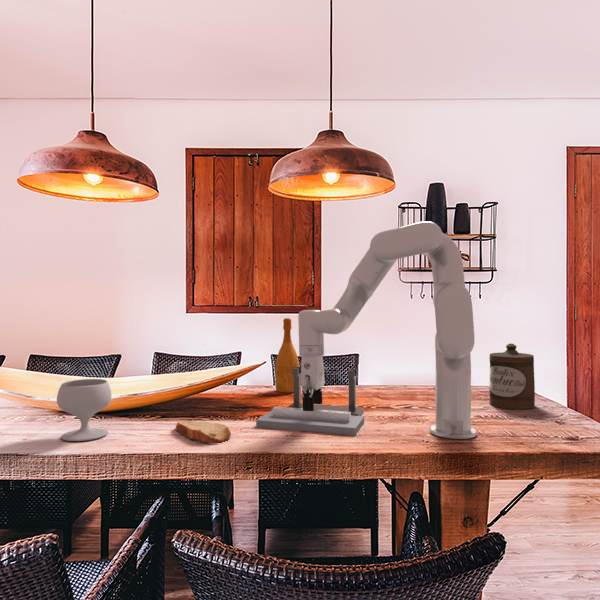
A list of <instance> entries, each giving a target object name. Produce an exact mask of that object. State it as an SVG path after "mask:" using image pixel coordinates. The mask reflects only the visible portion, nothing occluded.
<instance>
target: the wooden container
mask: <svg viewBox="0 0 600 600" xmlns="http://www.w3.org/2000/svg"><path fill="white" fill-rule="evenodd" d="M505 348H506V350H505V351H504V352H490V353H489V381H488V382H489V383H488V385H489V388H488V389H489V404H490V405H491V406H493V407H496V408H500V409H505V408H506V409H507V410H515V409H518V410H521V409H525V410H530V409H531V408H532V409H534V408H536V407H535V406H536V405H535V404H536V403H535V402H536V400H535V399H536V397H535V396H536V391H535V390H536V386H535V383H536V381H535V365H534V364H535V358H534V357H535V355H534V354H531V353H524V352H518V350H517V345H516V344H514V343H508V344H506V346H505ZM532 409H531V410H532Z"/></svg>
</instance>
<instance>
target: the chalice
mask: <svg viewBox="0 0 600 600" xmlns="http://www.w3.org/2000/svg"><path fill="white" fill-rule="evenodd" d="M111 400H112V391H111V387H110V384H109V382H108V381H107V380H106V379H101V378H86V379H85V378H83V379H74V380H70V381H65V382H62V383H61V385H60V386H59V388H58V390H57V396H56V404H57V406H58V408H59V409H60V410H61V411H64V412H65V413H67V414H70V415H73V416H75V417H76V418H77V419H79V421H80V428H79V429H75V430H74V429H73V430H70V431H68V432H65V433H63V434H62V435H61V436H60V440H63V441H68V442H84V441H92V440H96V439H99V438H103V437H106V436H107V435H108V434H109V431H108V430H107V429H104V428H95V427H92V428H91V427H90V426H89V422H90V419H91V418H92V417H93V416H94V415H95V414H97V413H99V412H100V411H102V410H103V409H105V408H106V407H107V406H108V405H109V404H110V403H111V402H112V401H111Z"/></svg>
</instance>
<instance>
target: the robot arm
mask: <svg viewBox="0 0 600 600" xmlns="http://www.w3.org/2000/svg"><path fill="white" fill-rule="evenodd" d="M417 255H423V256H425V257H426V258H427V259H428V260H429V262H430V264H431V265H430V266H431V273H432V274H431V275H432V283H433V285H432V286H433V300H432V301H433V306H434V316H435V328H436V333H435V337H434V347H435V348H434V349H435V350H434V351H435V353H434V354H435V424H433V425H431V426H430V427H429V432H430V433H431V434H432V435H434V436H436V437H441V438H445V439H452V440H453V439H454V440H467V439H472V438H475V437H476V436H477V429H475V428H474V427H472V426H471V425H472V424H471V423H472V421H471V420H472V419H471V418H472V409H471V408H472V397H471V396H472V393H471V391H472V387H471V386H472V363H471V361H472V360H471V358H472V357H471V352H472V351H473V348H474V346H475V339H476V338H475V326H474V313H473V311H474V310H473V302H472V296H471V294H470V291H469V290H468V288H466V283H465V274H464V264H463V258H462V255H461V252H460V249H459V247H458V245H457V244H456V243H455V241H454V240H452V238H451V237H449V236H448V235H447V234H445V233H444V232H443V231H442V228H441V227H440V226H439V225H438V224H437V223H435V222H433V221H425V220H424V221H420V222H415V223H412V224H407V225H404V226H403V225H402V226H400V227H396V228H391V229H387V230H382V231H380V232H378V233H376V234H374V236H373V237H372V239H371V241H370V243H369V248H368V250H367V251H366V252H365V254H364V256H363V257H362V258H361V260H360V261H359V263H358V264H357V265H356V267H355V268H354V269H353V271H352V272H351V274H350V276H349V279H348V282H347V285H346V288H345V290H344V291H343V293H342V295H341V297H340V298H339V299H338V301H337V303H336V304H335V305H334V307H333V308H332V309H326V310H320V309H303V310H301V311H299V312H298V316H297V317H298V320H297V321H298V351H299V352H298V356H299V357H301V363H300V364H301V365H300V367H301V400H302V404H303V411H313V410H314V404H317V405H323V386H325V383H326V380H325V367H324V355H325V345H324V344H325V343H324V342H325V341H324V338H325V337H324V336H325V335H324V334H327V335H338V334H339V335H340V334H341V333H343V332H346V331H347V330H348V328H350V326H351V325H352V323H353V322H354V321H355V319H356V318H357V317H358V315H359V314H360V312H361V311H362V310H363V308H364V307H365V305H366V303H367V302H368V300H370V299H371V297H372V296H373V294H374V293H375V291H376V290H377V289H378V288H379V285H380V284H381V282H382V281H383V280H384V279H385V277H386V276H387V274H388V273H389V271H390V270H391V269H392V267H393V266H394V265H395V264H396V261H397V260H400V259H404V258H409V257H413V256H417Z"/></svg>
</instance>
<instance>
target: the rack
mask: <svg viewBox="0 0 600 600" xmlns="http://www.w3.org/2000/svg"><path fill="white" fill-rule="evenodd" d="M357 371H358V369H357V368H350V370H347V379H348V406H345V405H330V404H329V405H328V404H314V409H318V410H332V411H346V412H351V415H352V416H361V415H362V416H363V415H364V413H365V407H359V406H357V378H358V377H357V375H358V373H357ZM292 376H293V377H294V392H293V402H292V403H291V404H290V405H288V406H287V407H290V408H303V402H302V385H301V366H299V367H296V368H292Z"/></svg>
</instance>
